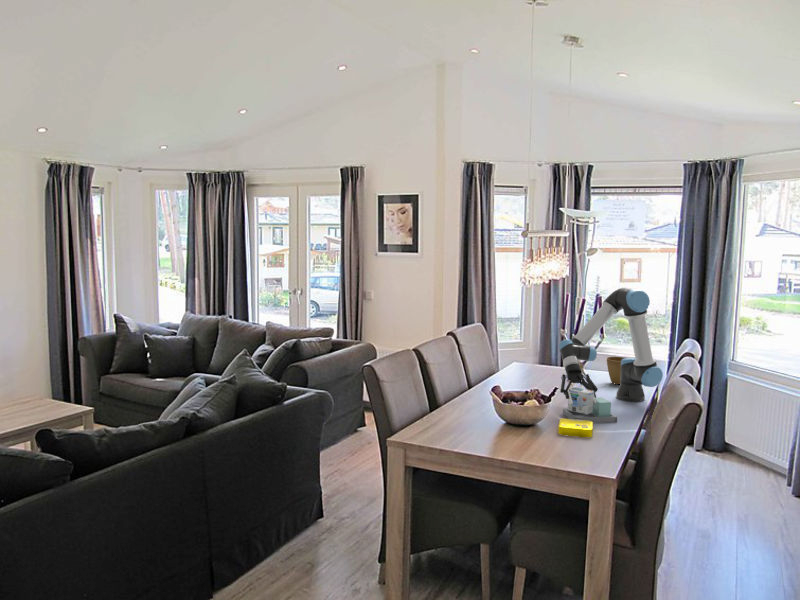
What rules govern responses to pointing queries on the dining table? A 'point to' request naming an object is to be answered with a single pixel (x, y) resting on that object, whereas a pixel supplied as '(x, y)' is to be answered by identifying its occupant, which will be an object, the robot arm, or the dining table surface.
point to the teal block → (602, 407)
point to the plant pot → (614, 368)
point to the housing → (588, 417)
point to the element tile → (575, 427)
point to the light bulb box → (581, 400)
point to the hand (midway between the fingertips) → (583, 404)
